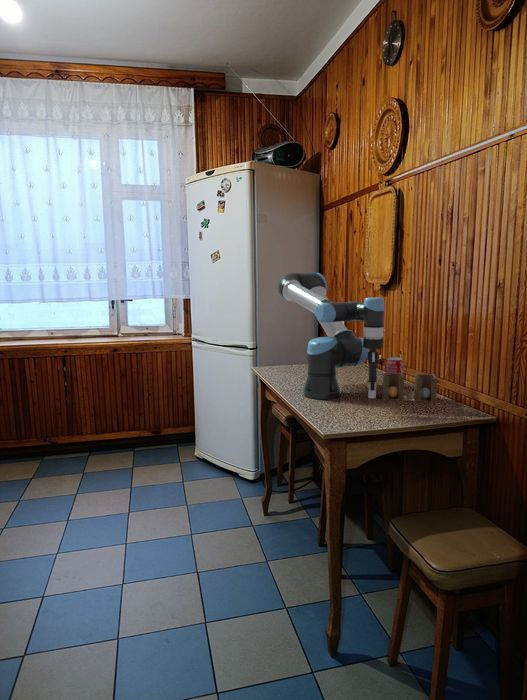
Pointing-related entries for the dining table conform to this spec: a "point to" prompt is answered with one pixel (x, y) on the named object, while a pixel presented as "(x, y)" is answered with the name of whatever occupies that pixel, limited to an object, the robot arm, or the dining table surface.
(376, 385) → the brown ball
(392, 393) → the brown ball in tube
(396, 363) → the soda can
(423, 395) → the grey ball
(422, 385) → the rack
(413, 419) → the dining table surface
